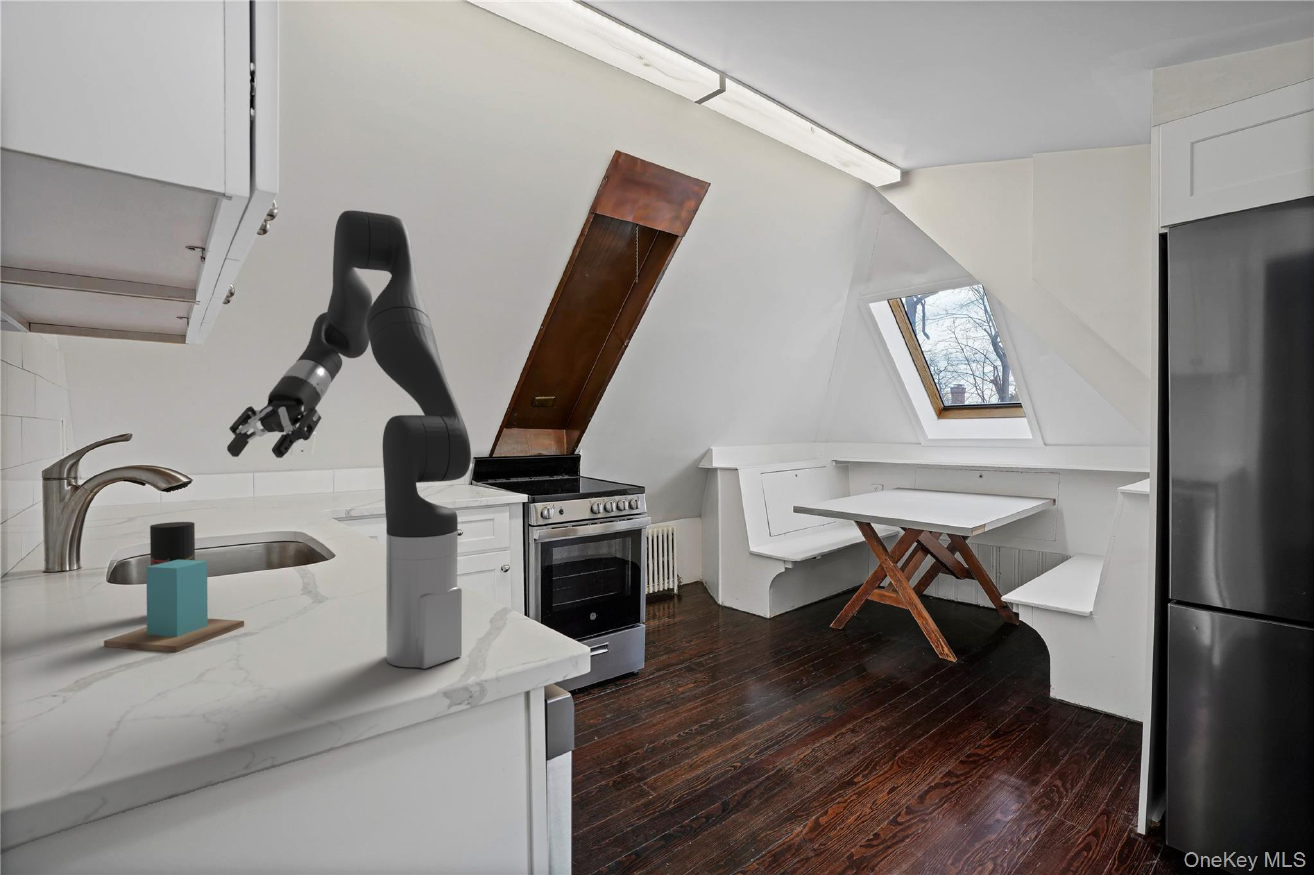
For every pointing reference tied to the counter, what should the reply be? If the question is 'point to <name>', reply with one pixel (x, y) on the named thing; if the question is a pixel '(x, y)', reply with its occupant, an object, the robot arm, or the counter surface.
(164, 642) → the post board
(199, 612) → the teal block
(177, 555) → the deodorant
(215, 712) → the counter surface
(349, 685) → the counter surface
